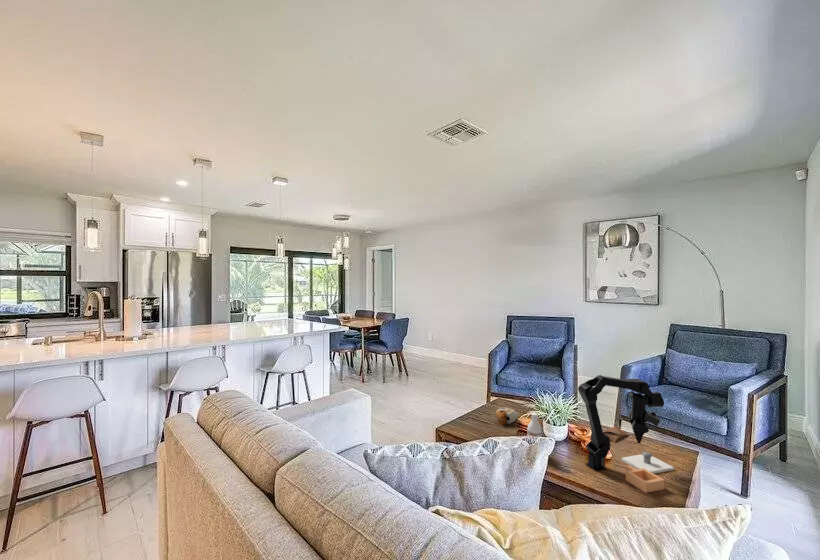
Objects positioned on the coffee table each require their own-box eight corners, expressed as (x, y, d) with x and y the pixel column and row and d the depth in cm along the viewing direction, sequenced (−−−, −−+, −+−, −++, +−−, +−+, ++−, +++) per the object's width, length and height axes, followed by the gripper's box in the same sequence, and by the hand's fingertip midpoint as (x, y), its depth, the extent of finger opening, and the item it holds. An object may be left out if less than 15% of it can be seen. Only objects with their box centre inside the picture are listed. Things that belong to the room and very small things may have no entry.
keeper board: (646, 474, 170) (646, 463, 170) (621, 460, 183) (621, 449, 183) (673, 469, 174) (673, 458, 174) (647, 455, 188) (647, 445, 188)
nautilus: (506, 431, 217) (484, 425, 228) (523, 419, 233) (502, 414, 243) (505, 418, 217) (483, 413, 228) (522, 406, 233) (501, 402, 243)
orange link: (645, 492, 156) (645, 483, 156) (618, 475, 169) (618, 466, 169) (664, 489, 158) (664, 479, 158) (635, 472, 172) (636, 463, 172)
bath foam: (524, 451, 192) (524, 412, 192) (534, 448, 195) (535, 410, 195) (533, 457, 186) (534, 417, 186) (544, 454, 189) (544, 415, 188)
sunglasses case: (615, 443, 201) (609, 430, 204) (603, 446, 206) (597, 433, 208) (629, 435, 212) (623, 423, 215) (618, 437, 217) (612, 426, 220)
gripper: (662, 416, 165) (661, 451, 165) (655, 403, 182) (654, 435, 182) (633, 411, 170) (632, 445, 170) (629, 399, 187) (628, 430, 187)
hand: (637, 439), depth 177 cm, fingers open, 9 cm apart
